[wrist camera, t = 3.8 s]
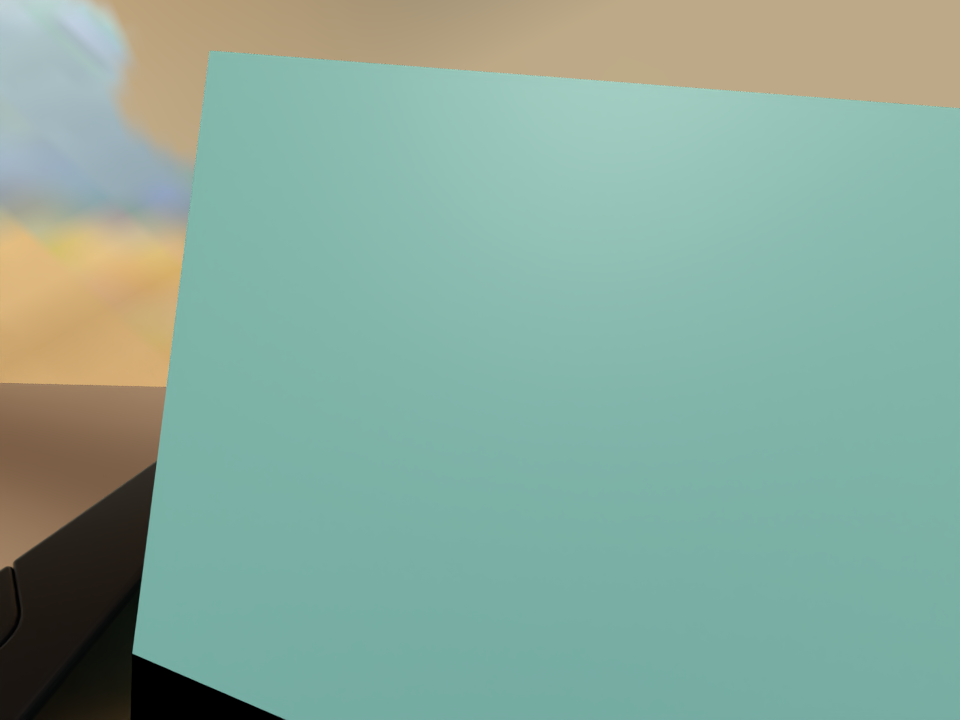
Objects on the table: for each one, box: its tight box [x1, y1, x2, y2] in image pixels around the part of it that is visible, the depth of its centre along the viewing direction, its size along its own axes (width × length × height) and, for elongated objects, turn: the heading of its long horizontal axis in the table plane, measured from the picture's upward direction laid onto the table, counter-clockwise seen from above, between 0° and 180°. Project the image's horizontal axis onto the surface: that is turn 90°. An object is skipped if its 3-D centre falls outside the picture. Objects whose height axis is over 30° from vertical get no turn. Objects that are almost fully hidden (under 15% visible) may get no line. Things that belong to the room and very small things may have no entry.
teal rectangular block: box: [130, 51, 960, 720], centre depth 8 cm, size 4×7×13 cm, turn 90°
